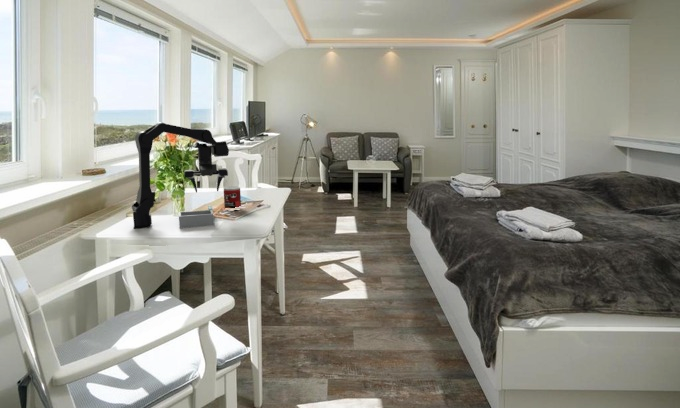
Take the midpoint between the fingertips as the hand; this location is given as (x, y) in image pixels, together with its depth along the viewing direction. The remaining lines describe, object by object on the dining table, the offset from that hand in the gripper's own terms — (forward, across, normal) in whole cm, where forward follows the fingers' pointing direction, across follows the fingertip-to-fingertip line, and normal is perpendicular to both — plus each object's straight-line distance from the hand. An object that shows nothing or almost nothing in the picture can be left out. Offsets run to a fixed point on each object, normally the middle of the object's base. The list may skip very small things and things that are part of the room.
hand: (207, 191), depth 216 cm
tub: (+12, -6, -12) cm, 18 cm away
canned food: (+12, +12, +12) cm, 21 cm away
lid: (+12, -5, 0) cm, 13 cm away
